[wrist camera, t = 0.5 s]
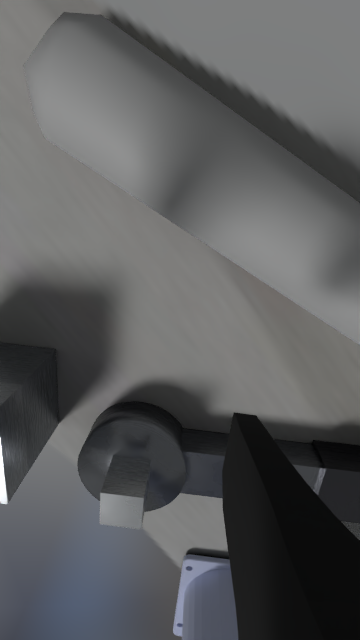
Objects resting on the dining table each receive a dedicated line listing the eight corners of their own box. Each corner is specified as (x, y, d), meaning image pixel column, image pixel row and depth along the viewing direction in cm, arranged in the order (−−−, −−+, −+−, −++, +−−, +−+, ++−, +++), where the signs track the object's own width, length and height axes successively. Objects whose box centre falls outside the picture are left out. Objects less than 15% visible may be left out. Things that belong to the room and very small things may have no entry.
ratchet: (428, 516, 22) (489, 601, 17) (90, 474, 23) (61, 546, 18) (466, 440, 20) (548, 514, 15) (90, 396, 20) (57, 454, 16)
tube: (-15, 136, 12) (471, 447, 15) (8, -52, 9) (617, 390, 12) (59, 123, 16) (429, 369, 20) (93, -9, 13) (529, 312, 16)
